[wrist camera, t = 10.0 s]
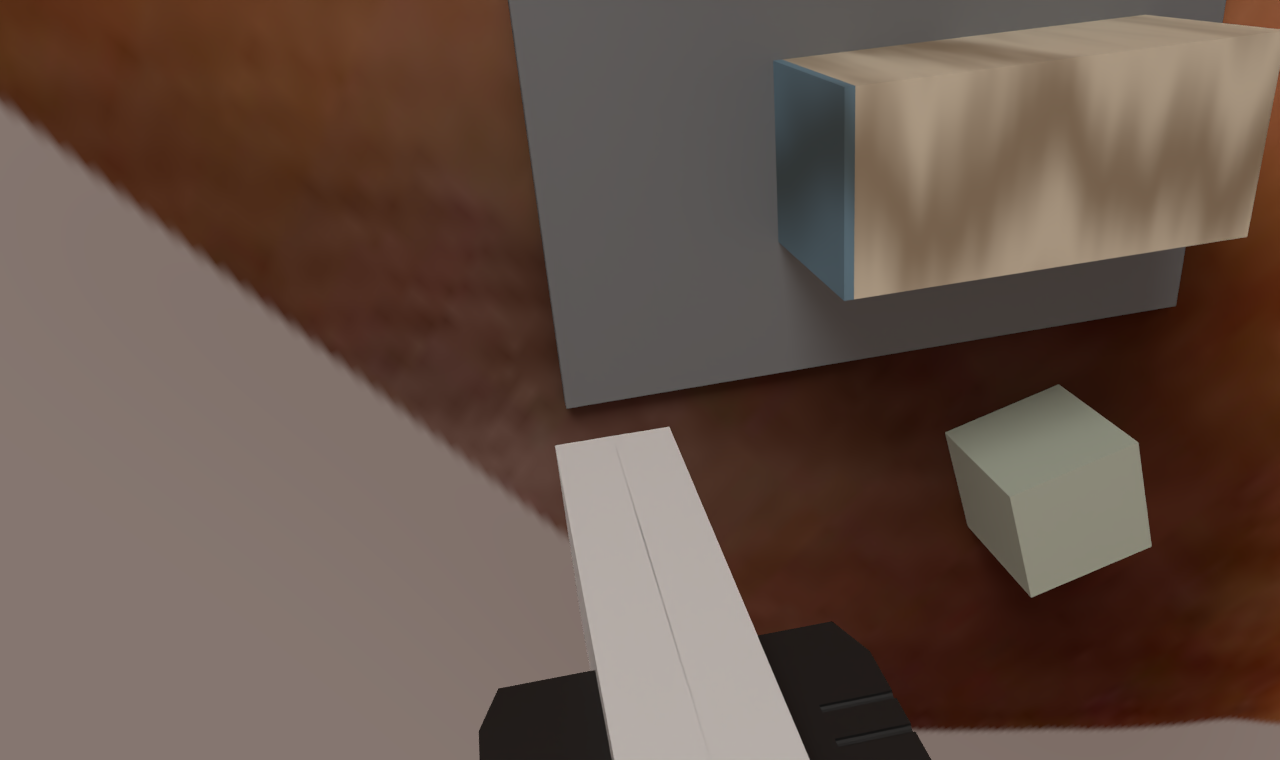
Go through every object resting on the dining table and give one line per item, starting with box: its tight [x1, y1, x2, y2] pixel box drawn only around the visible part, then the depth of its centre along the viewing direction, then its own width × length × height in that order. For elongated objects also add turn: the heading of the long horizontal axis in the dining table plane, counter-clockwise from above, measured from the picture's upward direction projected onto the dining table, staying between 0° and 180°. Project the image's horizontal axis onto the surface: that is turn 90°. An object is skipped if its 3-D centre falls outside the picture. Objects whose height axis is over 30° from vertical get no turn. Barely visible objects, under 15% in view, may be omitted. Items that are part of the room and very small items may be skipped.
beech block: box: [773, 15, 1280, 301], centre depth 30 cm, size 6×6×13 cm
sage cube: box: [945, 384, 1152, 598], centre depth 37 cm, size 5×5×5 cm
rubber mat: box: [508, 0, 1226, 409], centre depth 32 cm, size 16×24×1 cm, turn 95°
